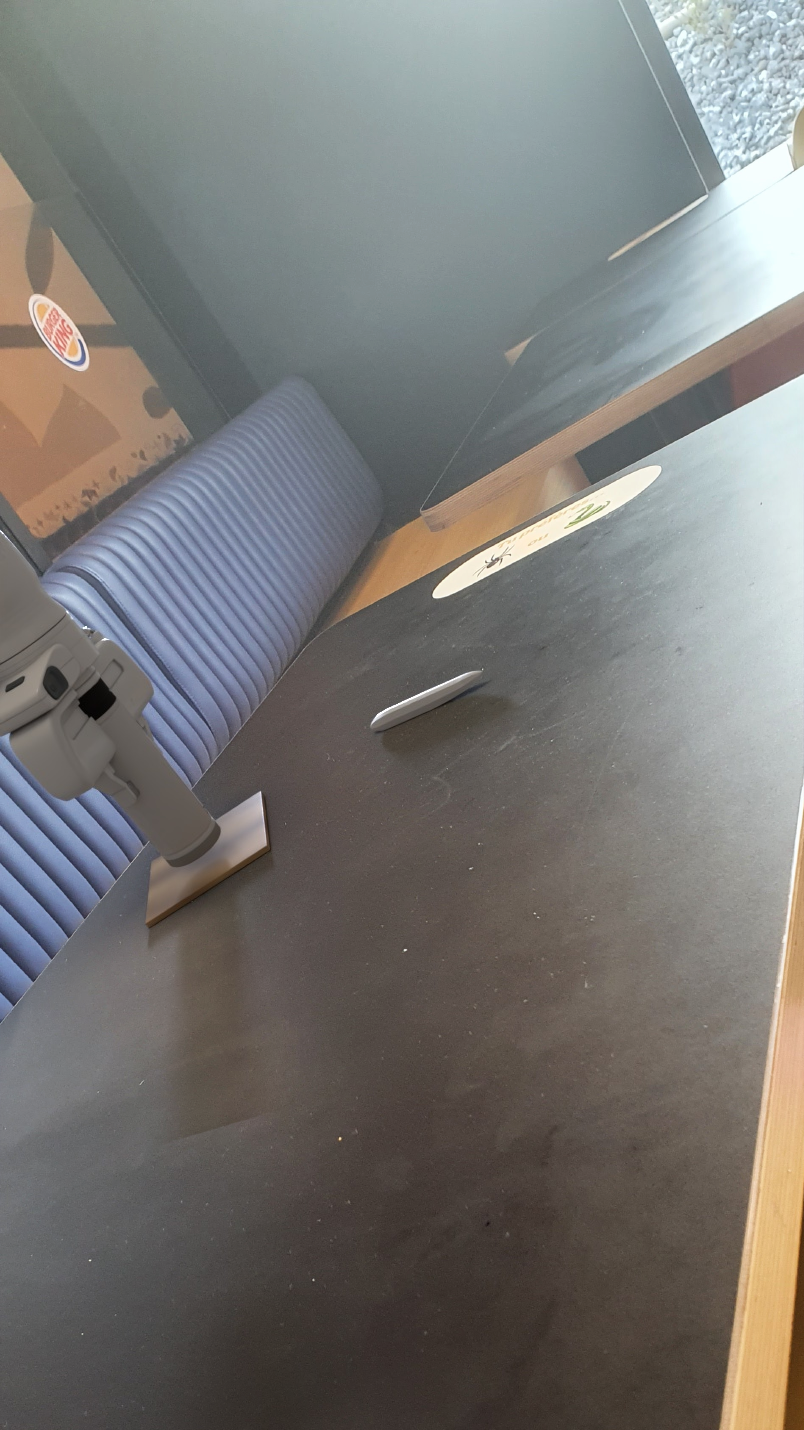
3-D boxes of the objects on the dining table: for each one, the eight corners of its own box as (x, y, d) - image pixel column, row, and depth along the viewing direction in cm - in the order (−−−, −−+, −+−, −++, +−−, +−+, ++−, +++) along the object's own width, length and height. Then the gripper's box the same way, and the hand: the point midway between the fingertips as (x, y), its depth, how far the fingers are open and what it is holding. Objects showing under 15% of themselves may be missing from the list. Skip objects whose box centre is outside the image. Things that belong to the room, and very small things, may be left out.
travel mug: (231, 817, 117) (105, 657, 107) (210, 856, 112) (76, 692, 102) (184, 836, 119) (57, 681, 110) (161, 876, 114) (26, 717, 105)
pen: (488, 685, 113) (479, 671, 112) (371, 736, 118) (363, 724, 118) (490, 677, 114) (482, 664, 113) (375, 728, 120) (366, 716, 119)
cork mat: (154, 865, 123) (151, 861, 122) (264, 794, 122) (260, 790, 122) (148, 928, 110) (144, 924, 110) (270, 849, 109) (266, 845, 109)
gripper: (63, 634, 114) (151, 742, 121) (-23, 733, 98) (84, 852, 104) (112, 606, 112) (198, 717, 119) (32, 701, 96) (137, 825, 102)
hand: (144, 781), depth 111 cm, fingers closed on travel mug, 6 cm apart
